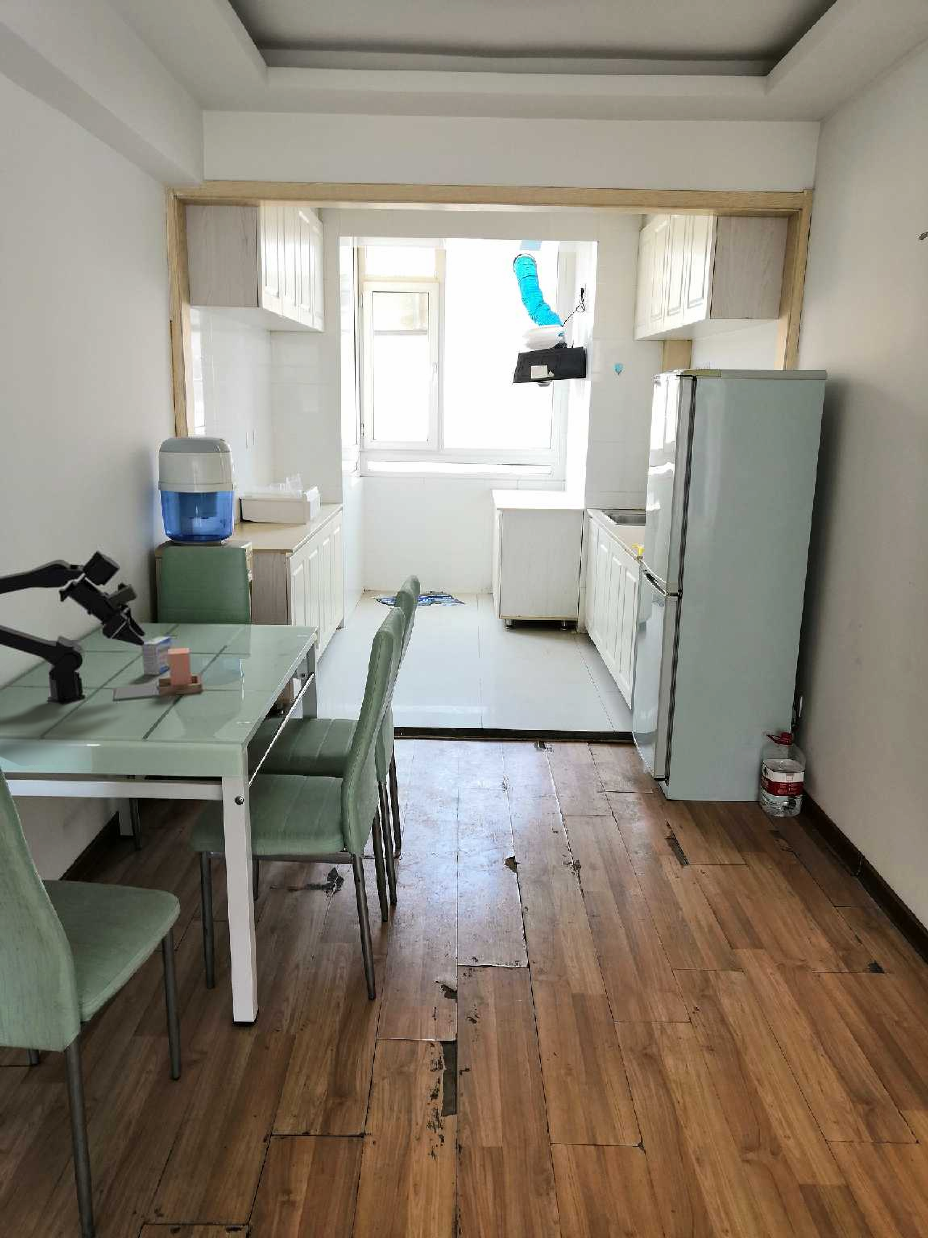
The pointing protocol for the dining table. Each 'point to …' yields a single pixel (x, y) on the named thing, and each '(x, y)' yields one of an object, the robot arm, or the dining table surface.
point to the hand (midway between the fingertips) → (143, 639)
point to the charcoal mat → (135, 691)
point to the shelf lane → (180, 686)
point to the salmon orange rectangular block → (179, 666)
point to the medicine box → (156, 655)
